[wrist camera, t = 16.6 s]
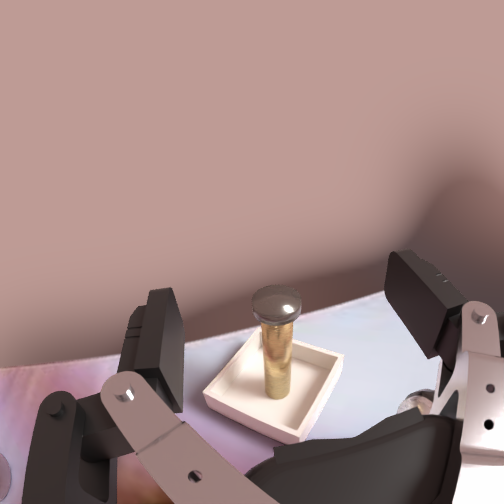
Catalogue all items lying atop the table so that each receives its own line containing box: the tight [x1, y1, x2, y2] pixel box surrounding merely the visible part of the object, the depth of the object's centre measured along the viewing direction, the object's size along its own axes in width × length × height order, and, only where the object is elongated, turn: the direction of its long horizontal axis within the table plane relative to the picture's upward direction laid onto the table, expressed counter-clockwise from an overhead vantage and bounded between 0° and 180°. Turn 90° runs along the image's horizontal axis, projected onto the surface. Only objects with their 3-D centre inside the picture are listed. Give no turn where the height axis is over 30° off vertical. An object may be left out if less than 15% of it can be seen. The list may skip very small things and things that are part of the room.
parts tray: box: [203, 327, 344, 445], centre depth 34 cm, size 12×12×4 cm
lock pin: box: [252, 285, 301, 399], centre depth 31 cm, size 4×4×14 cm
